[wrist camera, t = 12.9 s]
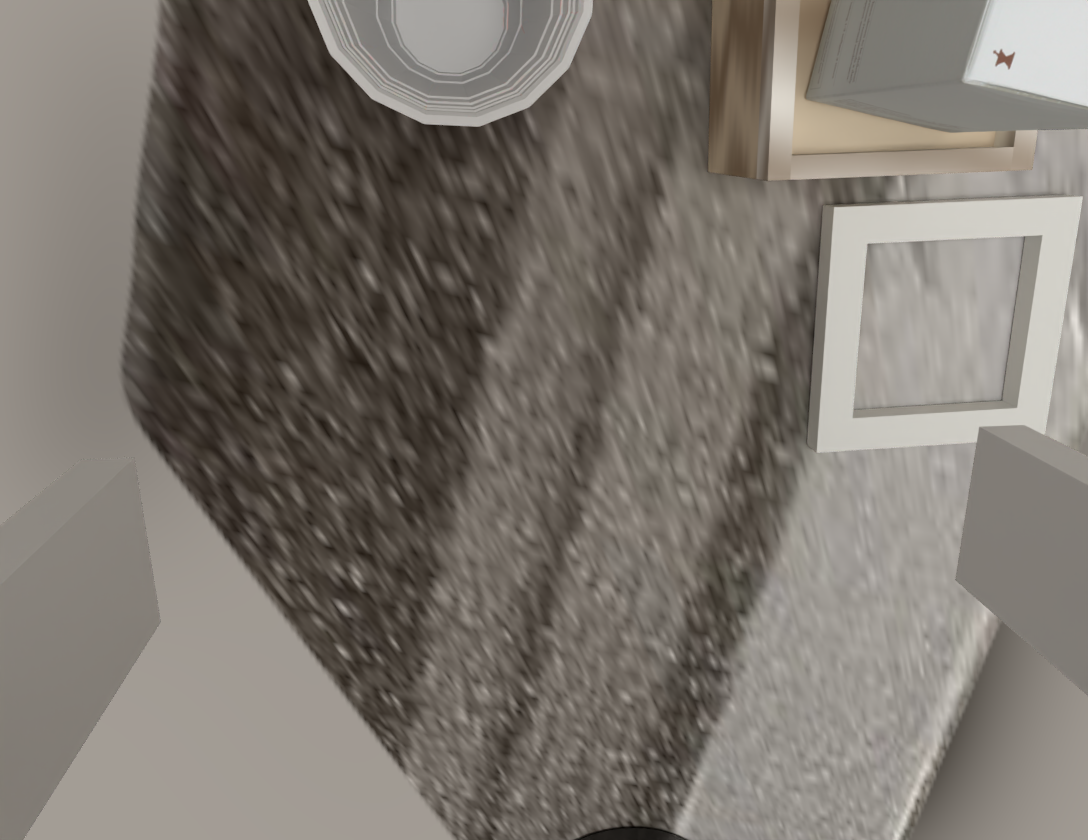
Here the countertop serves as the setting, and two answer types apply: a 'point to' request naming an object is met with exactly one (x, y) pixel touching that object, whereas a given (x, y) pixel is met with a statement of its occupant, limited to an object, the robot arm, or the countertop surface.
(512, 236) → the countertop surface
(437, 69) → the plastic cup
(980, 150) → the tray
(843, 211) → the white flat square frame
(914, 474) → the countertop surface
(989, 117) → the supplement box
